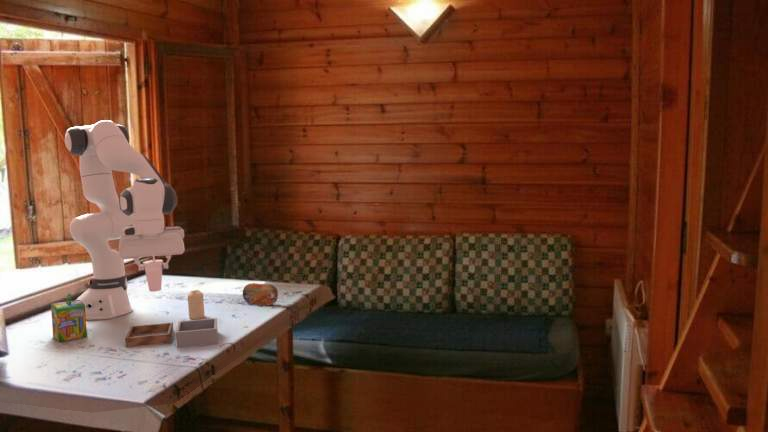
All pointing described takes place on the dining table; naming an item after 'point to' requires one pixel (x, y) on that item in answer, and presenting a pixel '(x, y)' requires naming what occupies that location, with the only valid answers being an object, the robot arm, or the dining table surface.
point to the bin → (196, 332)
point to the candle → (196, 304)
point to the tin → (260, 294)
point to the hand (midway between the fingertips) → (153, 269)
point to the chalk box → (69, 320)
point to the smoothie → (153, 274)
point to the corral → (149, 339)
